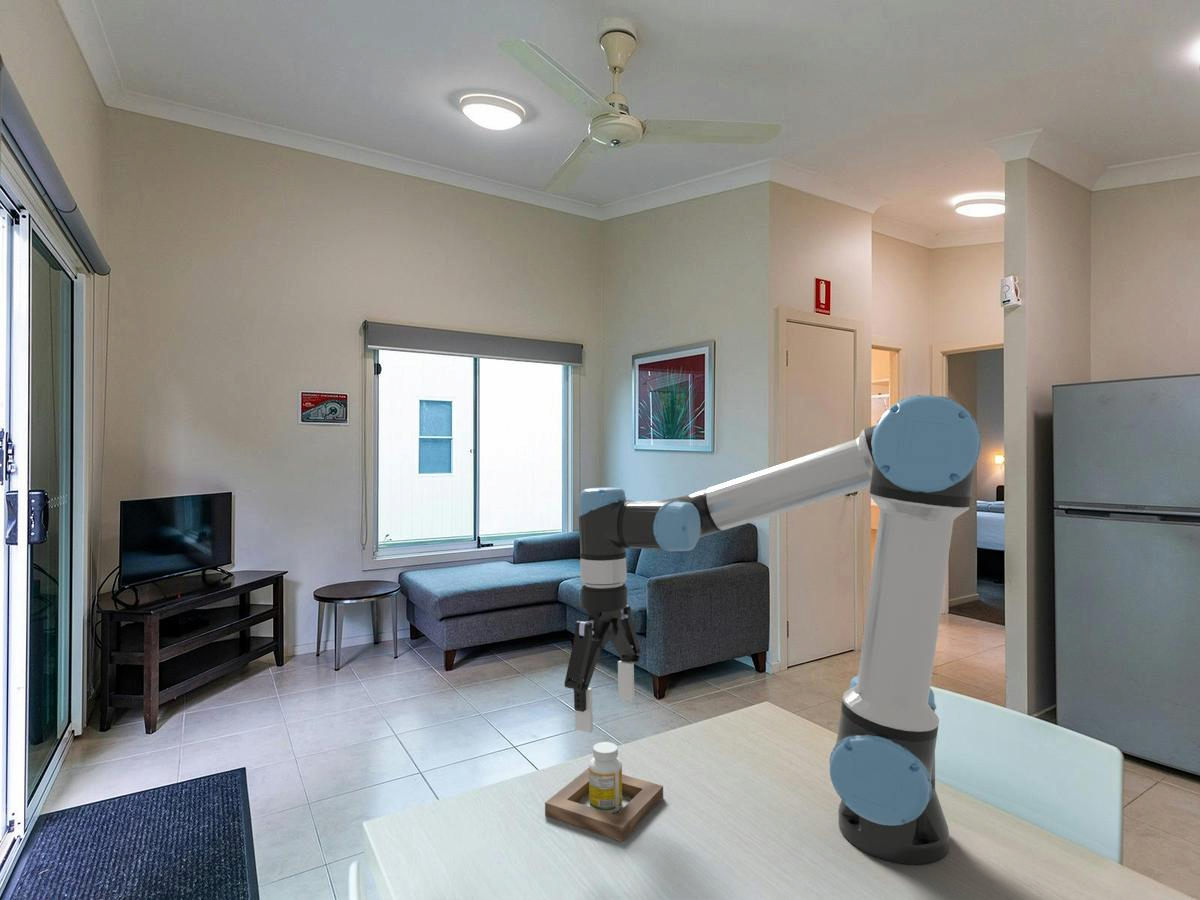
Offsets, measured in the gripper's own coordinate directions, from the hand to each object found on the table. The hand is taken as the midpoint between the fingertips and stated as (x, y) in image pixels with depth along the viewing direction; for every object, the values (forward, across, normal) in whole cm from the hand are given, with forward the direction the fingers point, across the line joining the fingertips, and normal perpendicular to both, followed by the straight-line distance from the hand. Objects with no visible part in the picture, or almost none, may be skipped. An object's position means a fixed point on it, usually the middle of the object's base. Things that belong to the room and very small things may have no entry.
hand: (606, 714), depth 107 cm
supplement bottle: (+15, 0, 0) cm, 15 cm away
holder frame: (+15, 0, 0) cm, 15 cm away
